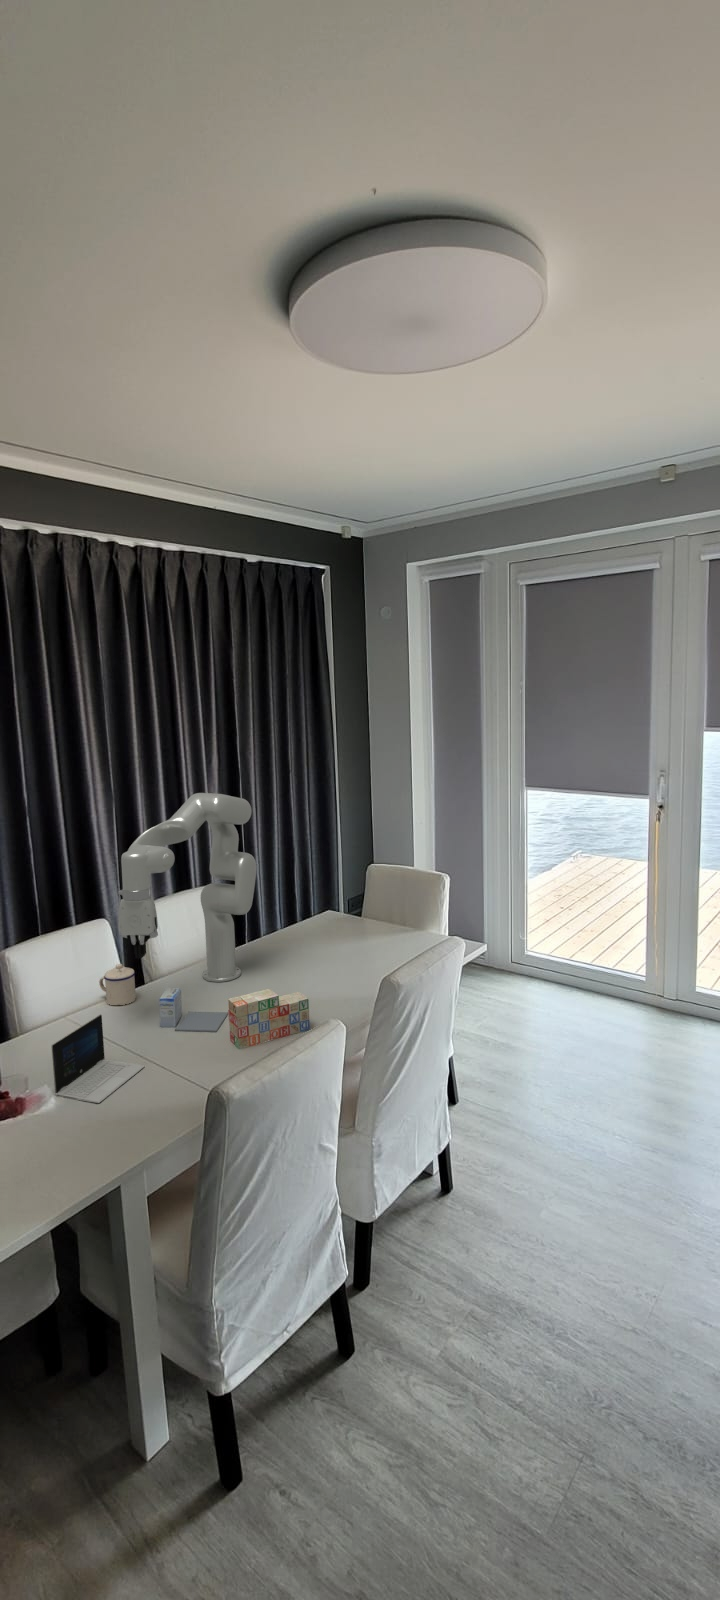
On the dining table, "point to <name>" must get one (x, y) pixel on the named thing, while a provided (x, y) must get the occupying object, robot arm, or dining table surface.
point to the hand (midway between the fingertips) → (140, 956)
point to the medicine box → (170, 1007)
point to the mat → (202, 1021)
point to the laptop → (87, 1065)
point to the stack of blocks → (266, 1017)
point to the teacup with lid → (119, 985)
